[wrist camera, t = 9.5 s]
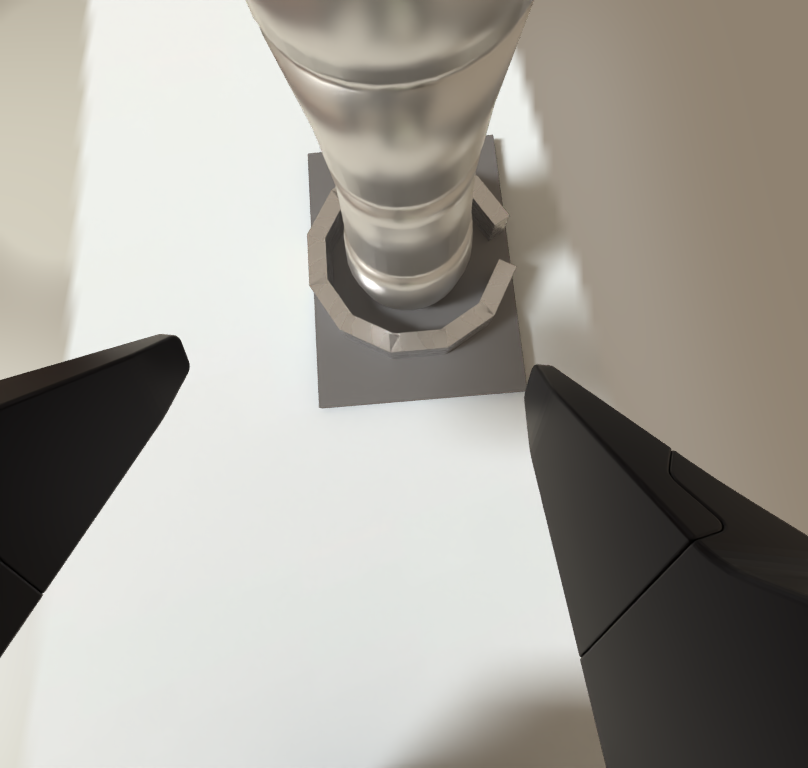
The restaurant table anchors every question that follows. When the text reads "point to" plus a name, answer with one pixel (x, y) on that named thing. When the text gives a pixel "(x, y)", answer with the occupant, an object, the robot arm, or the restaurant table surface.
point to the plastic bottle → (398, 123)
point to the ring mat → (418, 324)
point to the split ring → (407, 344)
